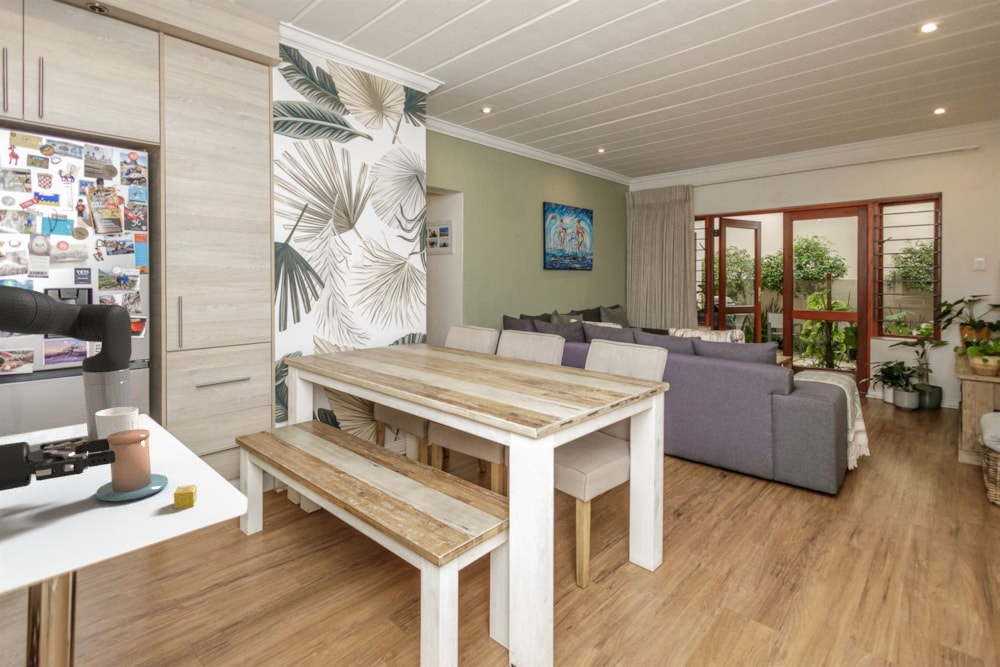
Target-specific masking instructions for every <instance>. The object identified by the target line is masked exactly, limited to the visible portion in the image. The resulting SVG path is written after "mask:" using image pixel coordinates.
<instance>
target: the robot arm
mask: <svg viewBox="0 0 1000 667" xmlns="http://www.w3.org/2000/svg"><path fill="white" fill-rule="evenodd" d="M0 332H4V333H10V334H11V333H14V334H21V335H23V334H24V335H33V336H34V335H41V336H42V335H57V336H62V337H68V338H71V339H74V340H79V341H83V342H89V343H90V342H91V343H101V347H100V351H99V352H98V353H96V354H95V355H91V356H88V357H86V358H83V360H82V362H81V364H82V367H81V368H82V380H83V389H84V390H83V393H84V402H85V415H86V428H87V439H88V440H84V439H83V438H80V437H78V438H73V439H68V440H67V439H66V440H60V441H54V442H47V443H42V444H39V450H35V451H31V450H30V445H29V443H28V442H27V441H19V442H12V443H5V444H0V492H2V491H7V490H13V489H19V488H24V487H28V486H30V484H31V483H32V482H31V481H32V475H35V480H36V481H44V480H45V481H46V480H50V479H56V478H63V477H70V476H75V475H80V474H83V473H84V471H86V470H88V469H89V468H94V467H99V466H104V465H111V463H114V462H115V452H114V451H113V450H109V443H108V442H107V438H106V439H99V440H98V434H97V427H96V419H95V413H96V412H98V411H101V410H105V409H110V408H117V407H133V398H132V396H133V395H132V381H131V367H130V361H131V357H132V320H131V316H130V313H129V311H128V309H127V308H126V307H124V306H123V305H119V304H99V303H98V304H96V303H95V304H94V303H93V304H92V303H90V304H89V303H87V304H78V303H77V304H74V303H65V302H63V303H62V302H59V301H57V300H56V299H55V298H54V297H52V296H50V295H49V294H46V293H44V292H40V291H38V290H34V289H28V288H24V287H19V286H13V285H12V286H11V285H5V284H4V285H3V284H0ZM108 450H109V451H108ZM101 451H103V452H101Z"/></svg>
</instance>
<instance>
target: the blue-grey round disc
mask: <svg viewBox="0 0 1000 667" xmlns="http://www.w3.org/2000/svg"><path fill="white" fill-rule="evenodd" d="M168 479H169V478H168V477H167V476H166V475H164V474H159V473H151V484H150V485H148V486H147V487H144V488H142V489H138V490H134V491H129V492H115V491H113V489H112V481H109V482H107V483H105V484H103V485H102V486H100V487H99V488H98V489H97V490H96V492H95V493H96V497H97V499H98V500H101V501H105V502H106V501H107V502H121V501H129V500H130V501H131V500H135V499H139V498H143V497H147V496H150V495H153V494H155V493H158V492H159V491H161V490H163V489H165V487H166V486H168V483H169V480H168Z"/></svg>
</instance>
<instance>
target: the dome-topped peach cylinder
mask: <svg viewBox="0 0 1000 667" xmlns="http://www.w3.org/2000/svg"><path fill="white" fill-rule="evenodd" d="M149 437H150V430H148V429H144V428H139V429H134V430H126V431H121V432H117V433H113V434H111V435H109V436H108V437H107V442H108V443H109V450H113V451H114V452H115V462H114V463H111V464H110V474H111V475H110V476H111V482H112V489H113V491H115V492H129V491H134V490H138V489H142V488H144V487H147V486H148V485H150V484H151V474H152V471H151V470H152V469H151V456H150V455H151V454H150V442H149V441H150V440H149Z"/></svg>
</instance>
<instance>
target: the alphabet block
mask: <svg viewBox="0 0 1000 667" xmlns="http://www.w3.org/2000/svg"><path fill="white" fill-rule="evenodd" d="M197 488H198V487H197V484H190V485H181V486H180V485H179V486H177V487H176V488H175V489H176V490H175V491H174V494H173V506H174V509H175V510H176V509H177V510H178V508H179V509H185V507H187V508H193V507H194V506H195V504H196V502H197V499H198V498H197V497H198V496H197V495H198V494H197ZM183 507H184V508H183Z"/></svg>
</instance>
